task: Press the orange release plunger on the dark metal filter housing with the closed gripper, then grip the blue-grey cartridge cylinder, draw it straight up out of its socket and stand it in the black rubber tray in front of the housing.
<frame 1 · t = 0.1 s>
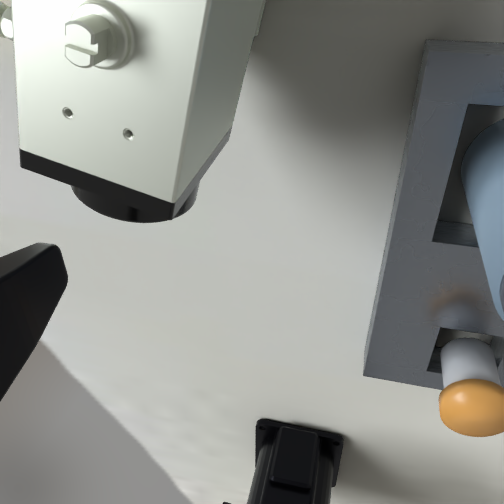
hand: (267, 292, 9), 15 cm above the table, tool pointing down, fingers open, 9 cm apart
housing: (493, 241, 23), on the table
plunger: (471, 383, 24), point 4 cm above the table, slide at 0.0 cm
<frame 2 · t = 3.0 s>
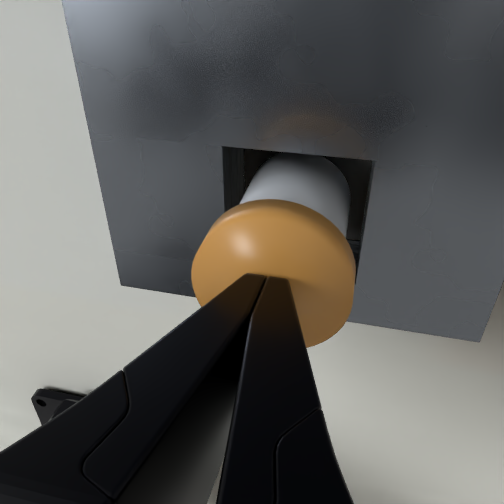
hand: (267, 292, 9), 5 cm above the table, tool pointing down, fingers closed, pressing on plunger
plunger: (286, 238, 11), point 3 cm above the table, slide at 1.1 cm, touching gripper
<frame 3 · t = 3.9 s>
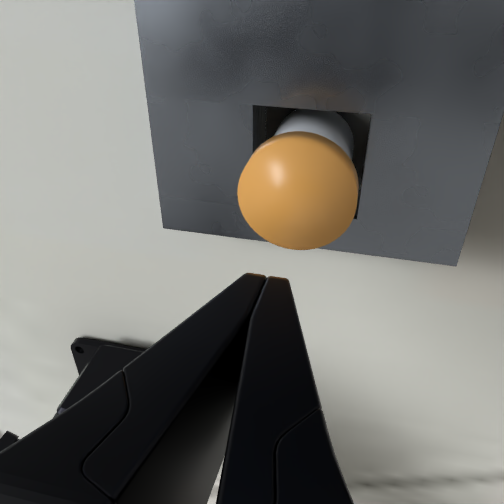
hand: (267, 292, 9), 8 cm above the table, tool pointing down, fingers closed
plunger: (305, 169, 14), point 2 cm above the table, slide at 1.5 cm
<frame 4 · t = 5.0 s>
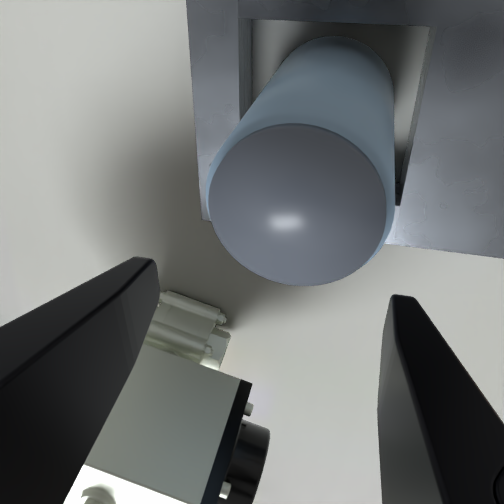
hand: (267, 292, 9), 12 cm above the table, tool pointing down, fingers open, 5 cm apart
pneumatic valve: (190, 319, 28), on the table
cartridge: (330, 101, 19), resting in housing
housing: (436, 109, 18), on the table
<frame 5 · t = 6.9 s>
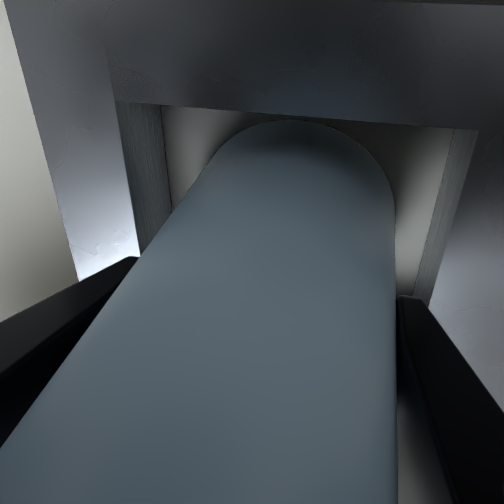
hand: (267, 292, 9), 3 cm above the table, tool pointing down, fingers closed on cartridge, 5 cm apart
cartridge: (293, 214, 12), resting in housing, touching gripper
housing: (465, 235, 11), on the table
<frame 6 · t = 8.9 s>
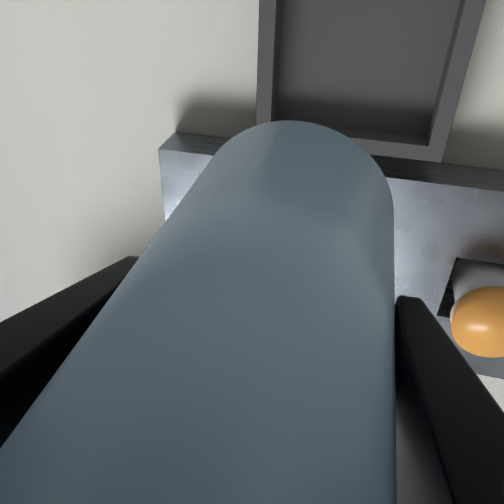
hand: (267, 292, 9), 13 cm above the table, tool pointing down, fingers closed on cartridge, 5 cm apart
cartridge: (292, 215, 12), point 10 cm above the table, touching gripper
housing: (352, 248, 24), on the table
plunger: (487, 299, 21), point 2 cm above the table, slide at 1.5 cm
tray: (361, 43, 18), on the table
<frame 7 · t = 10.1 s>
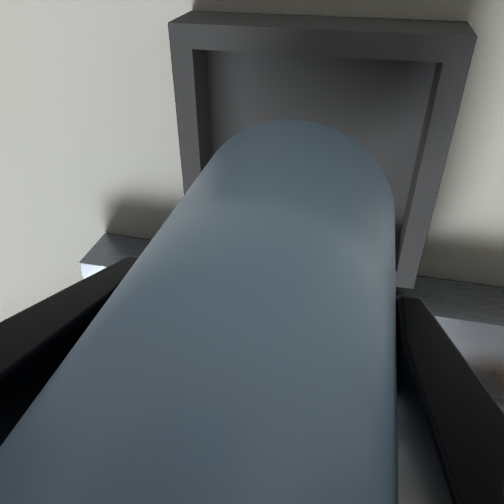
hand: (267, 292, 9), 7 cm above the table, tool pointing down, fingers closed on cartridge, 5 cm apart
cartridge: (292, 214, 12), point 4 cm above the table, touching gripper
housing: (319, 357, 20), on the table
plunger: (476, 434, 17), point 2 cm above the table, slide at 1.5 cm
tray: (311, 145, 15), on the table
when the fingers open (5 cm above the table, at t = 10.9 s): cartridge drops 2 cm, resting on tray.
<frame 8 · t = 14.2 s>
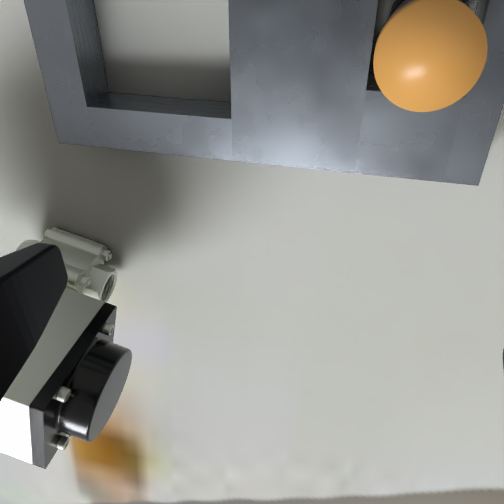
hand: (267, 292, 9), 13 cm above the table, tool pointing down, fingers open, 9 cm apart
pneumatic valve: (82, 259, 29), on the table
housing: (262, 23, 19), on the table
plunger: (425, 45, 16), point 2 cm above the table, slide at 1.5 cm
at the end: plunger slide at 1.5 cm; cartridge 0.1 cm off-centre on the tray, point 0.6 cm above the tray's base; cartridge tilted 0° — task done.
